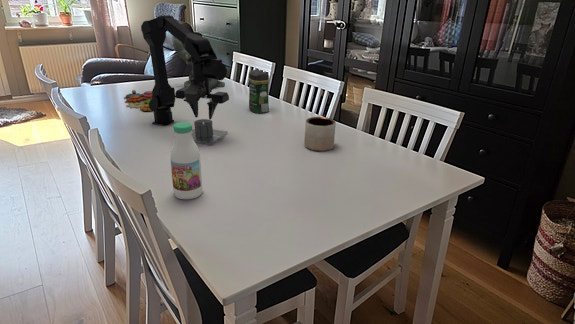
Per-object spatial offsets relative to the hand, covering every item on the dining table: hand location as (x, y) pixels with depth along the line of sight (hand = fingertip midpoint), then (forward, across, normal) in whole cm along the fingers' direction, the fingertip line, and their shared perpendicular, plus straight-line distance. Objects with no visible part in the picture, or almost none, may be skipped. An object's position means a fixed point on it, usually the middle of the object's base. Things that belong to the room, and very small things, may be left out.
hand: (203, 118), depth 142 cm
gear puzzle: (+8, -48, +29) cm, 57 cm away
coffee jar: (+8, +6, +40) cm, 41 cm away
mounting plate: (+8, 0, 0) cm, 8 cm away
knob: (+6, 0, 0) cm, 6 cm away
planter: (+8, +42, +8) cm, 44 cm away
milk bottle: (+8, +17, -40) cm, 44 cm away
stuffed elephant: (+8, -38, +68) cm, 78 cm away
